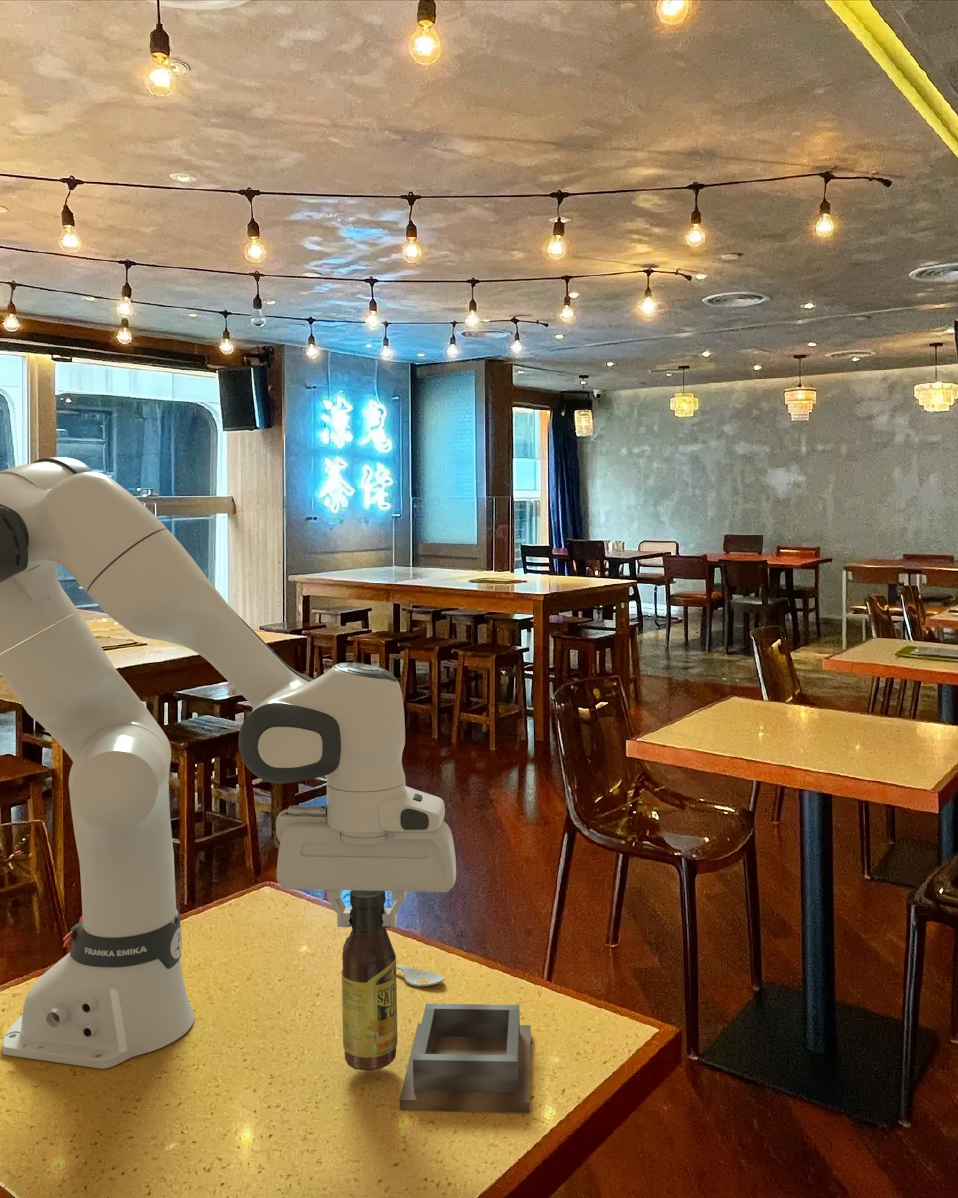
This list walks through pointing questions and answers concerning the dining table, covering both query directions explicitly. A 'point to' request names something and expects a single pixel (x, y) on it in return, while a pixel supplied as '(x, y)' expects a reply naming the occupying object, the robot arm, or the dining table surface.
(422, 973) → the spoon
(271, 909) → the dining table surface
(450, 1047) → the box
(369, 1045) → the sauce bottle
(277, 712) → the robot arm
